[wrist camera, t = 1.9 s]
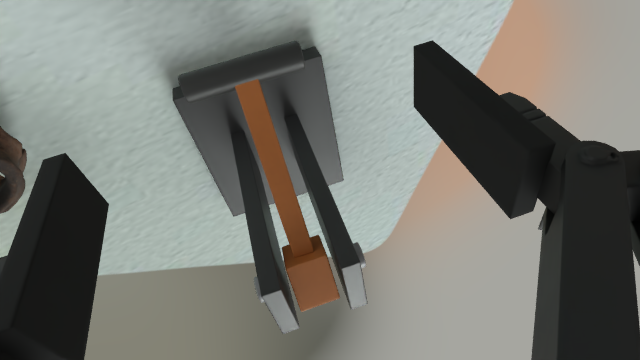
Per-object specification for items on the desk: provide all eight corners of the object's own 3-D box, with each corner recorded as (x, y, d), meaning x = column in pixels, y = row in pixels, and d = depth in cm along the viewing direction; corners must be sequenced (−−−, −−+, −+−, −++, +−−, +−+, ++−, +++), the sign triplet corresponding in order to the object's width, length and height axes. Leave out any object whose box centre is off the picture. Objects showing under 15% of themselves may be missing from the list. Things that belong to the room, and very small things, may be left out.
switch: (182, 73, 18) (173, 76, 16) (294, 41, 19) (300, 39, 16) (268, 296, 23) (271, 322, 20) (357, 265, 23) (369, 288, 21)
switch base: (172, 88, 26) (174, 271, 15) (315, 45, 27) (408, 193, 16) (231, 204, 34) (258, 373, 24) (338, 169, 35) (409, 318, 25)
